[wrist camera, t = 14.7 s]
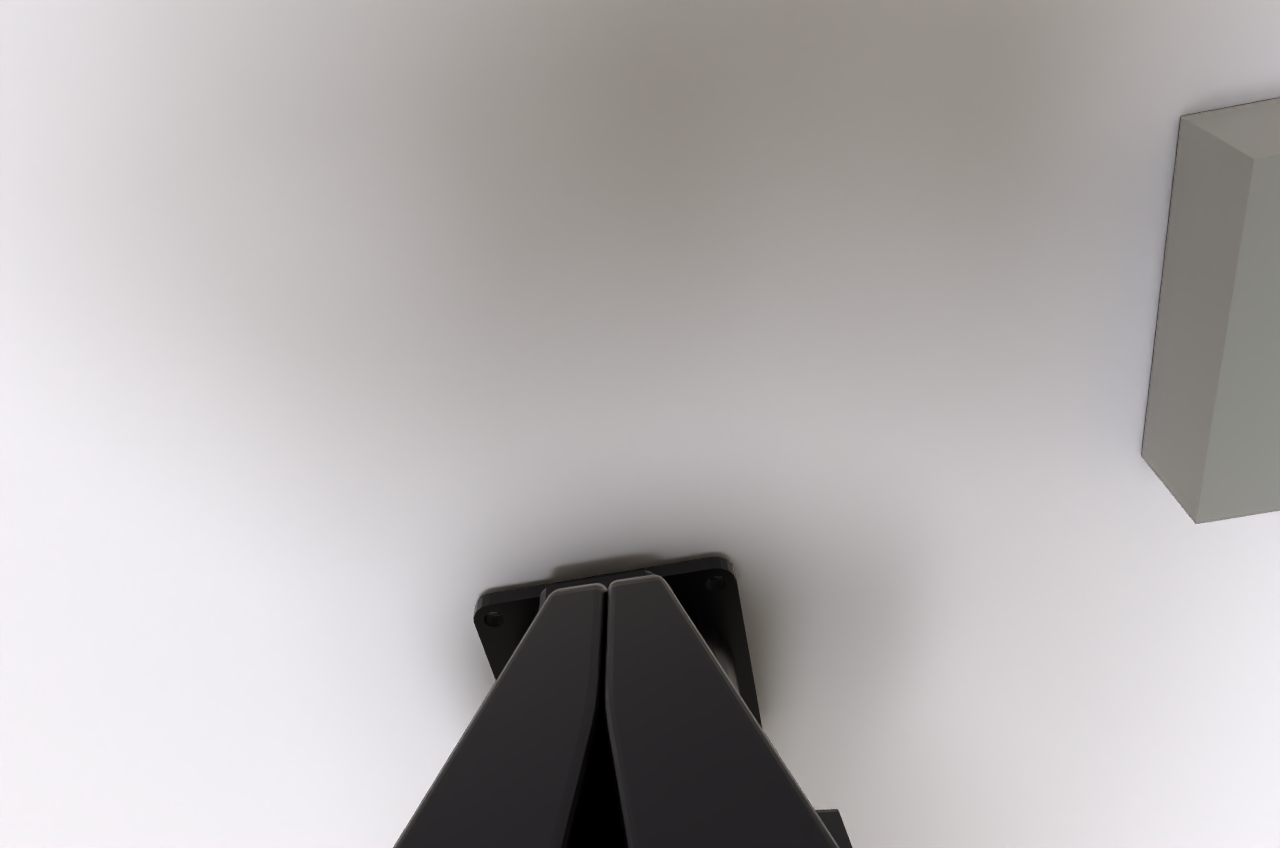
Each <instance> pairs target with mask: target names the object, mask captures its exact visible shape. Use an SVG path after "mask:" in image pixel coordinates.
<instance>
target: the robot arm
mask: <svg viewBox="0 0 1280 848" xmlns="http://www.w3.org/2000/svg"><path fill="white" fill-rule="evenodd" d="M713 576H721V577H722V578H721V579H718V580H709V578H710V577H713ZM490 612H497V613H500V614H501V615H499V616H493V615H490V614H488V613H490ZM474 624H475V626H476V629H477V632H478V634H479V637H480V640H481V642H482V645H483V647H484V650H485V653H486V655H487V658H488V661H489V663H490V666H491V669H492V671H493V674H494V676H495V679H496V682H495V683H494V685H493V687H492V688H491V690H490V692H489V693H488V695H487V696H486V698H485V700H484V701H483V703H482V704H481V706H480V708H479V709H478V711H477V713H476V714H475V716H474V717H473V719H472V721H471V722H470V724H469V726H468V727H467V729H466V730H465V732H464V734H463V735H462V737H461V739H460V740H459V742H458V743H457V745H456V747H455V748H454V750H453V752H452V753H451V755H450V756H449V758H448V760H447V761H446V763H445V764H444V766H443V768H442V769H441V771H440V773H439V774H438V776H437V777H436V779H435V781H434V782H433V784H432V786H431V787H430V789H429V790H428V792H427V794H426V795H425V797H424V799H423V800H422V802H421V803H420V805H419V807H418V808H417V810H416V811H415V813H414V815H413V816H412V818H411V820H410V821H409V823H408V824H407V826H406V828H405V829H404V831H403V833H402V834H401V836H400V837H399V839H398V841H397V842H396V844H395V846H394V847H393V848H852V845H851V843H850V840H849V837H848V835H847V832H846V829H845V827H844V824H843V821H842V818H841V816H840V813H839V811H838V809H831V810H814V808H813V807H812V805H811V803H810V802H809V800H808V799H807V797H806V796H805V794H804V793H803V791H802V790H801V788H800V787H799V785H798V783H797V782H796V780H795V779H794V777H793V776H792V774H791V773H790V771H789V770H788V768H787V767H786V765H785V763H784V762H783V760H782V759H781V757H780V756H779V754H778V753H777V751H776V750H775V748H774V747H773V745H772V743H771V742H770V740H769V739H768V737H767V736H766V734H765V733H764V731H763V730H762V725H761V719H760V714H759V708H758V702H757V696H756V691H755V685H754V679H753V673H752V667H751V662H750V656H749V650H748V644H747V639H746V633H745V627H744V621H743V615H742V610H741V604H740V598H739V592H738V587H737V581H736V575H735V569H734V567H733V565H732V563H730V562H729V561H728V560H727V559H723V558H720V557H711V558H704V559H698V560H692V561H686V562H680V563H674V564H668V565H662V566H655V567H649V568H643V569H637V570H631V571H625V572H619V573H613V574H607V575H600V576H594V577H588V578H582V579H576V580H570V581H564V582H558V583H552V584H545V585H539V586H533V587H527V588H521V589H515V590H509V591H503V592H496V593H490V594H487V595H484V596H482V597H481V598H480V599H479V600H478V601H477V603H476V605H475V611H474Z"/></svg>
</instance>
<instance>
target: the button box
mask: <svg viewBox="0 0 1280 848" xmlns="http://www.w3.org/2000/svg"><path fill="white" fill-rule="evenodd" d="M1142 457H1143V459H1144V460H1145V461H1146V462H1147V464H1148V465H1149V466H1150V467H1151V469H1152V470H1153V471H1154V472H1155V474H1156V475H1157V476H1158V477H1159V479H1160V480H1161V481H1162V482H1163V484H1164V485H1165V486H1166V487H1167V489H1168V490H1169V491H1170V492H1171V494H1172V495H1173V496H1174V497H1175V499H1176V500H1177V501H1178V502H1179V504H1180V505H1181V506H1182V507H1183V509H1184V510H1185V511H1186V512H1187V514H1188V515H1189V516H1190V517H1191V519H1192V520H1193V521H1194V522H1195V524H1199V523H1205V522H1212V521H1218V520H1224V519H1230V518H1237V517H1243V516H1249V515H1255V514H1261V513H1268V512H1274V511H1280V98H1276V99H1271V100H1266V101H1260V102H1255V103H1250V104H1244V105H1239V106H1234V107H1228V108H1223V109H1218V110H1212V111H1207V112H1202V113H1196V114H1191V115H1186V116H1181V121H1180V130H1179V138H1178V147H1177V156H1176V164H1175V173H1174V181H1173V190H1172V199H1171V207H1170V216H1169V224H1168V233H1167V242H1166V250H1165V259H1164V268H1163V276H1162V285H1161V293H1160V302H1159V311H1158V319H1157V328H1156V336H1155V345H1154V354H1153V362H1152V371H1151V380H1150V388H1149V397H1148V405H1147V414H1146V423H1145V431H1144V440H1143V448H1142Z"/></svg>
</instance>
